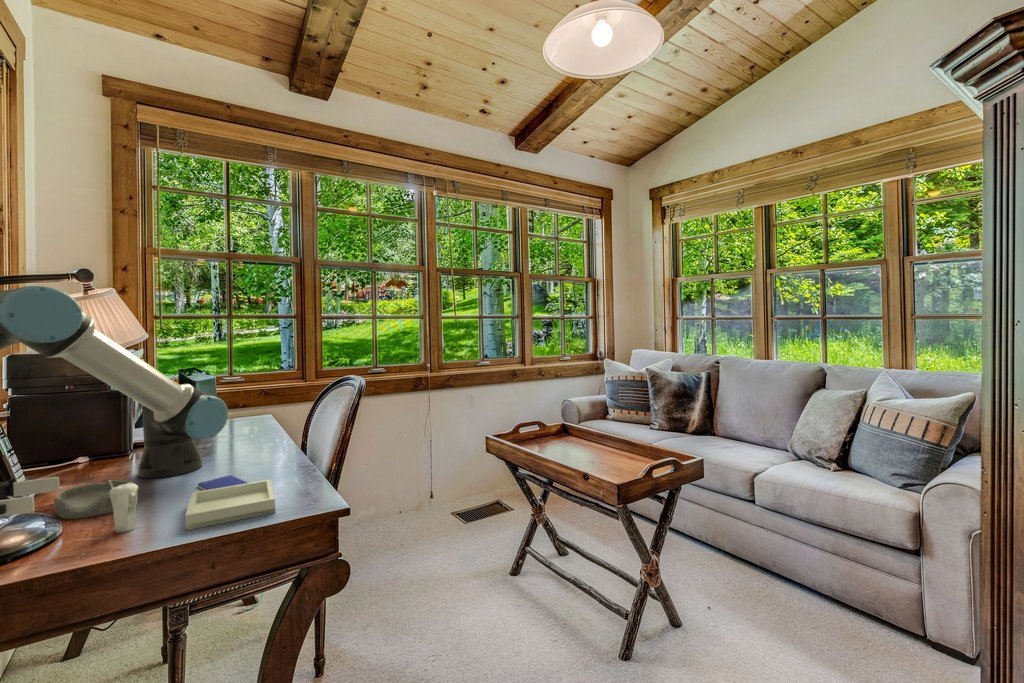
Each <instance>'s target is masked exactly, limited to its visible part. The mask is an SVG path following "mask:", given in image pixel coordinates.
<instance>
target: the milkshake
mask: <svg viewBox="0 0 1024 683" xmlns="http://www.w3.org/2000/svg"><path fill="white" fill-rule="evenodd" d="M108 482H109V483H110V485H111V488H112V489H111V490H110V492H109V494H110V500H111V505H112V510H113V512H112V515H113V520H114V521H113V522H114V527H115V532H116V533H127V532H130V531H132V530H135V529H137V523H138V522H137V521H138V498H139V497H138V496H139V486H138V485H137V484H136V483H134V482H133V483H127V484H122V485H119V486H117V487H114V486H113V484H112V482H111V479H109V480H108Z"/></svg>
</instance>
